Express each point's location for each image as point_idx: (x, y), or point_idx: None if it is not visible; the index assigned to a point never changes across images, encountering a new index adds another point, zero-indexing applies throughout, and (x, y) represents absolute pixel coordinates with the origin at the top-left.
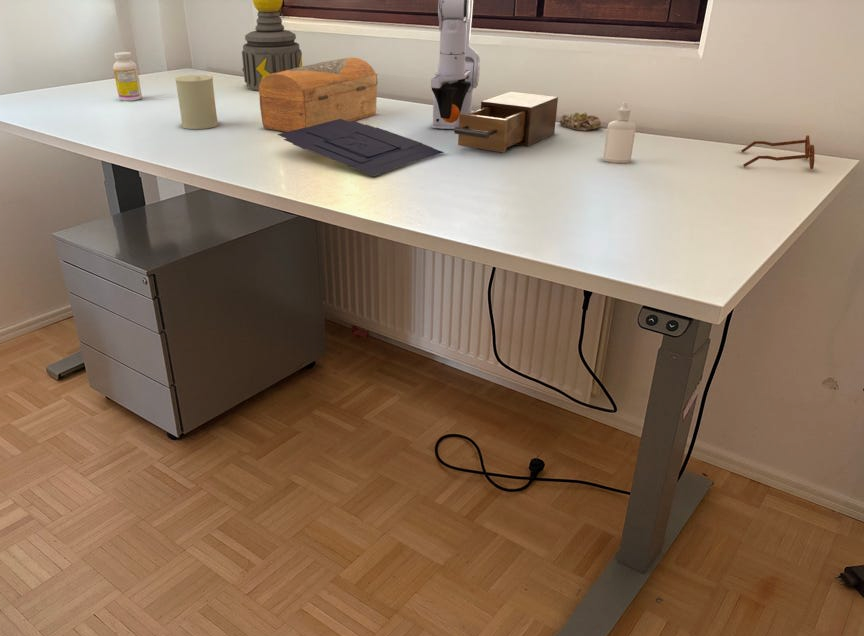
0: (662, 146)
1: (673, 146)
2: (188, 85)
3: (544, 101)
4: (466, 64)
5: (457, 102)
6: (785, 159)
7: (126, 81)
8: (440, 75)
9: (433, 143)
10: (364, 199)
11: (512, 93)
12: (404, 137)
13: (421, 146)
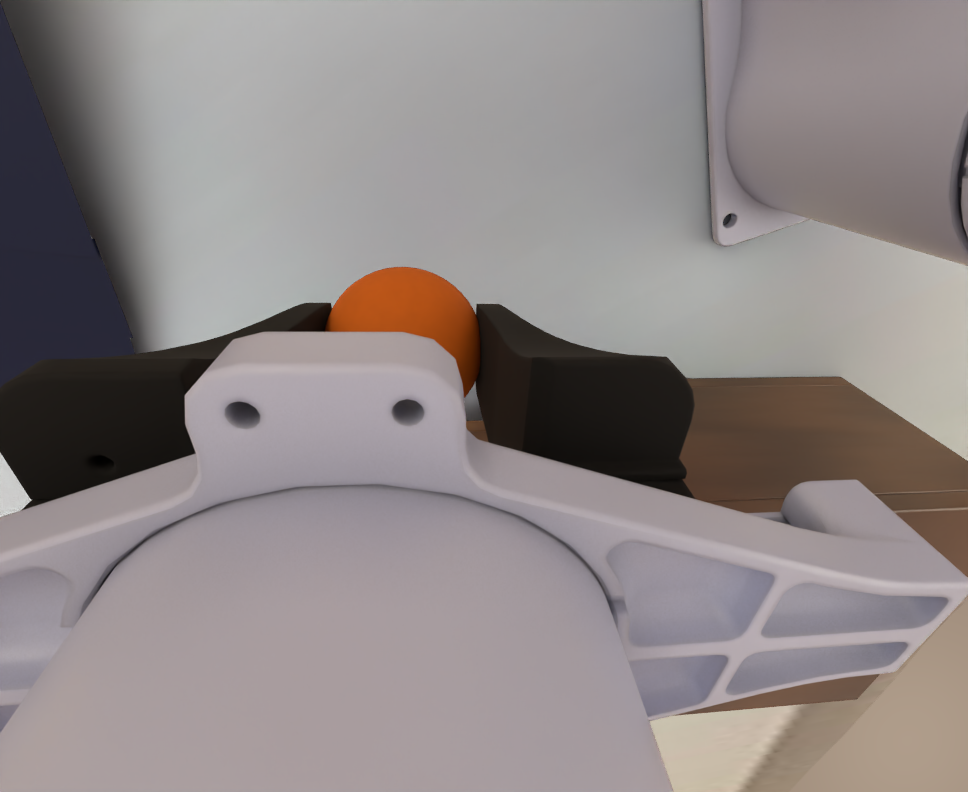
0: (683, 735)
1: (691, 744)
2: None
3: (723, 708)
4: None
5: (488, 406)
6: None
7: None
8: (66, 615)
9: (309, 214)
10: None
11: (954, 541)
12: (15, 66)
13: (56, 278)
